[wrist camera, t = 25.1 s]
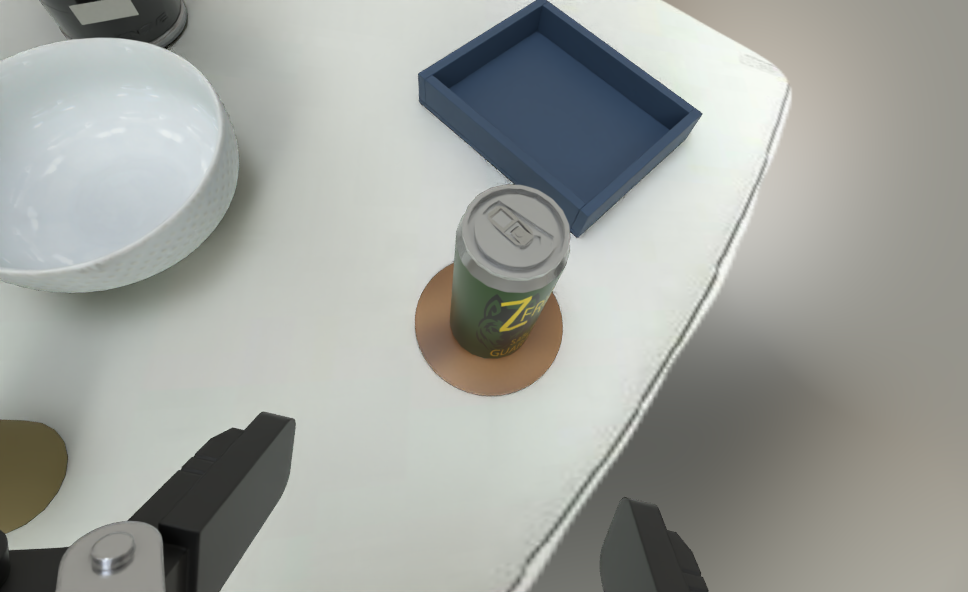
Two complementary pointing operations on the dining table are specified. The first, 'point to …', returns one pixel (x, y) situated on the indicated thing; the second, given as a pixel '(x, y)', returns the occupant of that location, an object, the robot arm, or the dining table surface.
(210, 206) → the cereal bowl
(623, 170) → the tray
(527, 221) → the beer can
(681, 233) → the dining table surface
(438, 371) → the coaster
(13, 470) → the pepper shaker
